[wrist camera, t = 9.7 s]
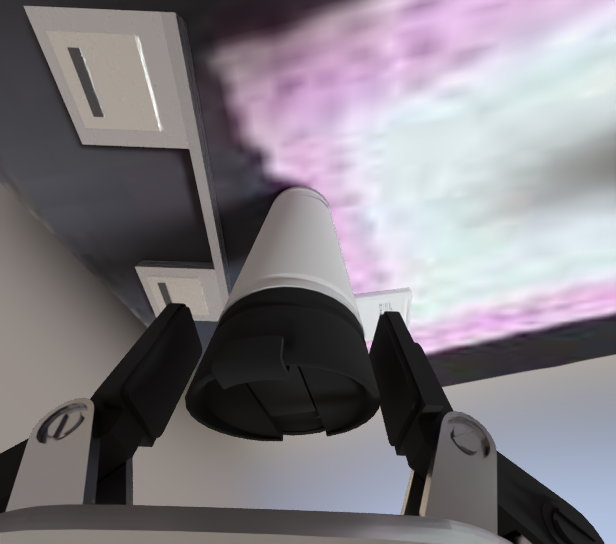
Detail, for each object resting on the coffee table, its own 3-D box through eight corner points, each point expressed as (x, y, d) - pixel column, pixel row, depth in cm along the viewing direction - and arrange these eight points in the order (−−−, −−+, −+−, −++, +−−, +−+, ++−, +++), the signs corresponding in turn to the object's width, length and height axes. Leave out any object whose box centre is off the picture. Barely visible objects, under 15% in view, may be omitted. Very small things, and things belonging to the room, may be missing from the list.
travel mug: (324, 175, 22) (383, 340, 5) (334, 238, 25) (391, 464, 8) (261, 189, 22) (117, 379, 5) (280, 249, 26) (227, 479, 9)
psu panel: (45, 15, 16) (18, 3, 15) (185, 21, 16) (173, 10, 15) (163, 311, 31) (155, 320, 30) (236, 314, 31) (232, 323, 30)
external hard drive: (311, 297, 30) (408, 284, 29) (320, 339, 35) (405, 330, 33) (311, 305, 29) (412, 292, 28) (320, 347, 33) (409, 339, 32)
